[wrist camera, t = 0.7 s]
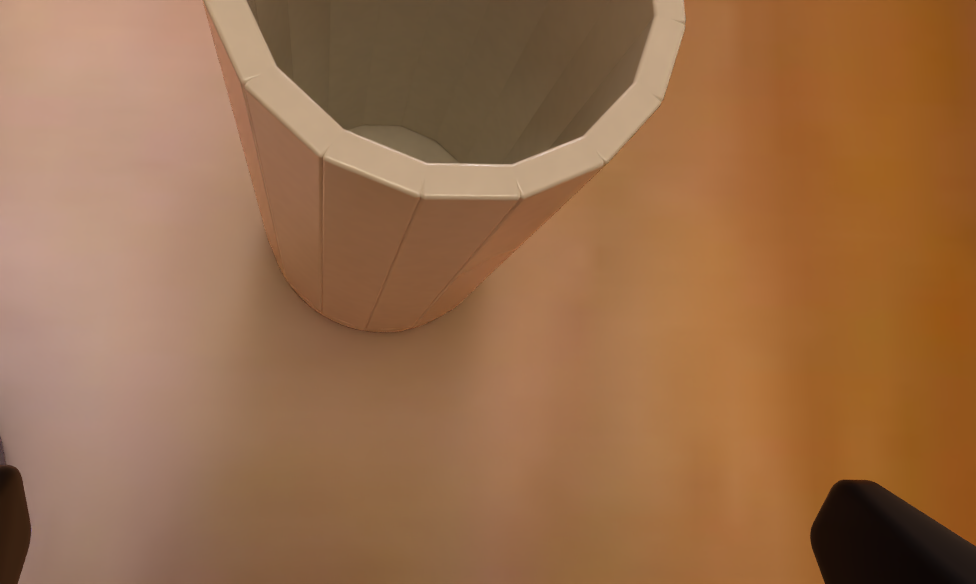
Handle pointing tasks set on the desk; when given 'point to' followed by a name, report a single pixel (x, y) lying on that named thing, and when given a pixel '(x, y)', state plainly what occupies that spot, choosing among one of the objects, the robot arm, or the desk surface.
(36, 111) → the desk surface
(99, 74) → the desk surface
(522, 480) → the desk surface
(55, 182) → the desk surface
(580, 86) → the cup
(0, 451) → the round ridged metallic base
